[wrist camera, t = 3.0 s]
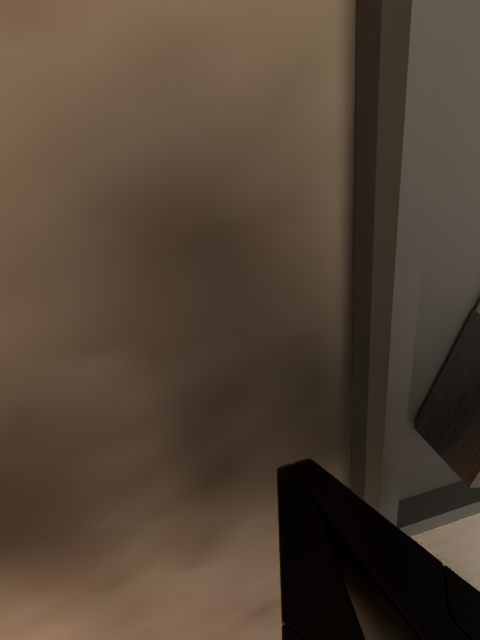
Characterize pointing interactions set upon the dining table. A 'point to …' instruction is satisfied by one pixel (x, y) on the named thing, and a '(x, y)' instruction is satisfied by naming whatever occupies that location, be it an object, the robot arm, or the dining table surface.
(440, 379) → the bar
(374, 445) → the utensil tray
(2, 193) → the dining table surface
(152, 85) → the dining table surface
